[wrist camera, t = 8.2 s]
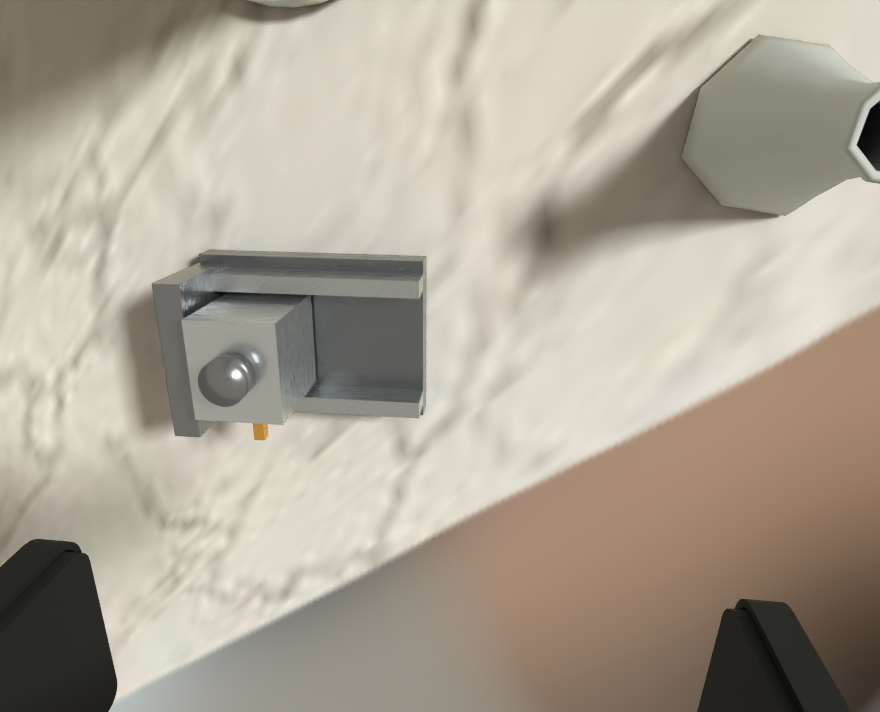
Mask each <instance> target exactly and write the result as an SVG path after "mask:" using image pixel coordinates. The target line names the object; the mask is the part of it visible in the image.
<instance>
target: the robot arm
mask: <svg viewBox="0 0 880 712" xmlns="http://www.w3.org/2000/svg"><path fill="white" fill-rule="evenodd" d="M247 1H251V2H255V3H258V4H262V5H266V6H274V7H294V8H296V7H301V6H307V5H313V4H319V3H323V2H325V1H328V0H247ZM116 691H117V678H116V674H115V669H114V665H113V660H112V656H111V652H110V647H109V643H108V638H107V634H106V629H105V625H104V621H103V616H102V612H101V607H100V603H99V599H98V594H97V590H96V585H95V581H94V577H93V572H92V568H91V563H90V560H89V557H88V556H87V555H86V554H85V553H82V552H81V549H80V547H79V546H78V545H77V544H76V543H74V542H67V541H55V540H43V539H35V540H31V541H29V542H28V543H27V544H25V545H24V546H23V547H22V548H21V549H19V550H18V551H17V552H16V553H15V554H14V555H13V556H12V557H11V558H10V559H9V560H8V561H6V562H5V563H4V564H3V565H2V566H1V567H0V712H108V711H109V709H110V708H111V706H112V704H113V701H114V699H115V695H116ZM697 712H851V710H850V708H849V707H848V705H847V703H846V701H845V700H844V698H843V696H842V695H841V693H840V691H839V689H838V688H837V686H836V684H835V683H834V681H833V679H832V678H831V676H830V674H829V672H828V671H827V669H826V667H825V665H824V664H823V662H822V660H821V659H820V657H819V655H818V654H817V652H816V650H815V648H814V647H813V645H812V643H811V642H810V640H809V638H808V636H807V635H806V633H805V631H804V630H803V628H802V626H801V624H800V623H799V621H798V619H797V618H796V616H795V614H794V612H793V611H792V610H791V608H790V607H789V606H788V605H787V604H785V603H783V602H772V601H761V600H749V599H741V600H739V601H738V603H737V605H736V607H735V609H726V610H725V611H724V613H723V615H722V619H721V623H720V627H719V631H718V634H717V638H716V642H715V646H714V650H713V653H712V657H711V661H710V665H709V669H708V673H707V676H706V680H705V684H704V688H703V692H702V696H701V700H700V703H699V707H698V711H697Z"/></svg>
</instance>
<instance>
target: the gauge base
mask: <svg viewBox="0 0 880 712" xmlns="http://www.w3.org/2000/svg"><path fill="white" fill-rule="evenodd" d="M199 260H200V263H197V264H195V265H193V266H190V267H188V268H186V269H184V270H181V271H179V272H177V273H174V274H172V275H170V276H168V277H165V278H163V279H161V280H159V281H156V282H154V283H152V289H153V296H154V302H155V309H156V315H157V322H158V328H159V335H160V341H161V348H162V354H163V361H164V367H165V374H166V380H167V387H168V393H169V400H170V406H171V413H172V419H173V426H174V432H175V436H186V437H201V436H202V435H203V434H204V433H205V432H206V431H207V430H208V429H209V428H210V427H211V426H212V425H213V424H214V423H215V422H216V421H206V420H195V414H194V407H193V400H192V393H191V386H190V379H189V372H188V364H187V357H186V350H185V343H184V336H183V329H182V321H181V320H182V319H184V318H185V317H187V316H189V315H190V314H192V313H194V312H196V311H197V310H199V309H201V308H202V307H204V306H206V305H207V304H209V303H211V302H212V301H214V300H216V299H218V298H219V297H221V296H223V295H224V294H226V293H228V292H245V293H272V294H299V295H311V304H312V320H313V336H314V352H315V368H316V382H315V383H314V385H313V386H312V387H311V389H310V390H309V391H308V393H307V394H306V395H305V397H304V398H303V399H302V401H301V402H300V403H299V405H298V406H297V407H296V409H295V410H294V411H295V412H313V413H332V414H350V415H369V416H387V417H406V418H419V416H420V415H423V413H424V410H425V407H426V256H399V255H366V254H333V253H300V252H268V251H235V250H208V251H206V252H203V253H201V254H199Z"/></svg>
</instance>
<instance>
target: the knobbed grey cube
mask: <svg viewBox="0 0 880 712" xmlns="http://www.w3.org/2000/svg"><path fill="white" fill-rule="evenodd" d="M181 321H182V329H183V336H184V343H185V350H186V357H187V364H188V372H189V379H190V386H191V393H192V400H193V407H194V414H195V420H206V421H224V422H242V423H253V430H254V440H265V439H266V438H267V437H268V427H267V424H277V425H284V423H285V422H286V421H287V419H288V418H289V417H290V415H291V414H292V413H293V411H294V410H295V409H296V407H297V406H298V405H299V403H300V402H301V401H302V399H303V398H304V397H305V395H306V394H307V393H308V391H309V390H310V389H311V387H312V386H313V385H314V383H315V382H316V368H315V352H314V336H313V320H312V304H311V295H299V294H272V293H245V292H228V293H226V294H224V295H223V296H221V297H219V298H218V299H216V300H214V301H212V302H211V303H209V304H207V305H206V306H204V307H202V308H201V309H199V310H197V311H196V312H194V313H192V314H190V315H189V316H187V317H185V318H184V319H182V320H181Z"/></svg>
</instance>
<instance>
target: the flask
mask: <svg viewBox="0 0 880 712" xmlns="http://www.w3.org/2000/svg"><path fill="white" fill-rule="evenodd" d="M681 158H682V159H683V160H684V162H685V163H686V164H687V165H688V166H689V168H690V169H691V170H692V171H693V172H694V174H695V175H696V176H697V177H698V178H699V180H700V181H701V182H702V183H703V184H704V186H705V187H706V188H707V189H708V190H709V192H710V193H711V194H712V195H713V196H714V198H715V199H716V200H717V201H718V202H719V204H720V205H722V206H728V207H734V208H740V209H746V210H753V211H759V212H765V213H771V214H777V215H783V216H785V215H787V214H789V213H791V212H793V211H794V210H796V209H797V208H799V207H800V206H802V205H803V204H805V203H807V202H808V201H810V200H811V199H813V198H814V197H816V196H818V195H819V194H821V193H823V192H825V191H827V190H829V189H830V188H832V187H834V186H836V185H838V184H840V183H841V182H843V181H845V180H848V179H852V178H857V177H861V178H862V179H863V180H864V181H866V182H872V183H879V184H880V82H877V83H874V82H872V81H871V80H870V79H868V78H867V77H866V76H864V75H863V74H862V73H860V72H859V71H858V70H856V69H855V68H854V67H852V66H851V65H850V64H849V63H848V62H847V61H846V60H845V59H844V58H843V57H842V56H841V55H840V54H839V53H838V52H837V51H836V50H834V49H833V48H832V47H831V46H829V45H824V44H817V43H811V42H804V41H797V40H791V39H784V38H778V37H771V36H764V35H758V36H757V37H756V38H755V39H753V40H752V41H751V42H750V43H749V44H748V45H747V46H746V47H745V48H744V49H743V50H741V51H740V52H739V53H738V54H737V55H736V56H735V57H734V58H733V59H732V60H731V61H729V62H728V63H727V64H726V65H725V66H724V67H723V68H722V69H721V70H720V71H719V72H717V73H716V74H715V75H714V76H713V77H712V78H711V79H710V80H709V81H708V82H706V83H705V84H704V85H703V86H702V87H701V88H700V91H699V95H698V99H697V102H696V106H695V109H694V113H693V117H692V120H691V124H690V128H689V131H688V135H687V138H686V142H685V146H684V149H683V153H682V156H681Z"/></svg>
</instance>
